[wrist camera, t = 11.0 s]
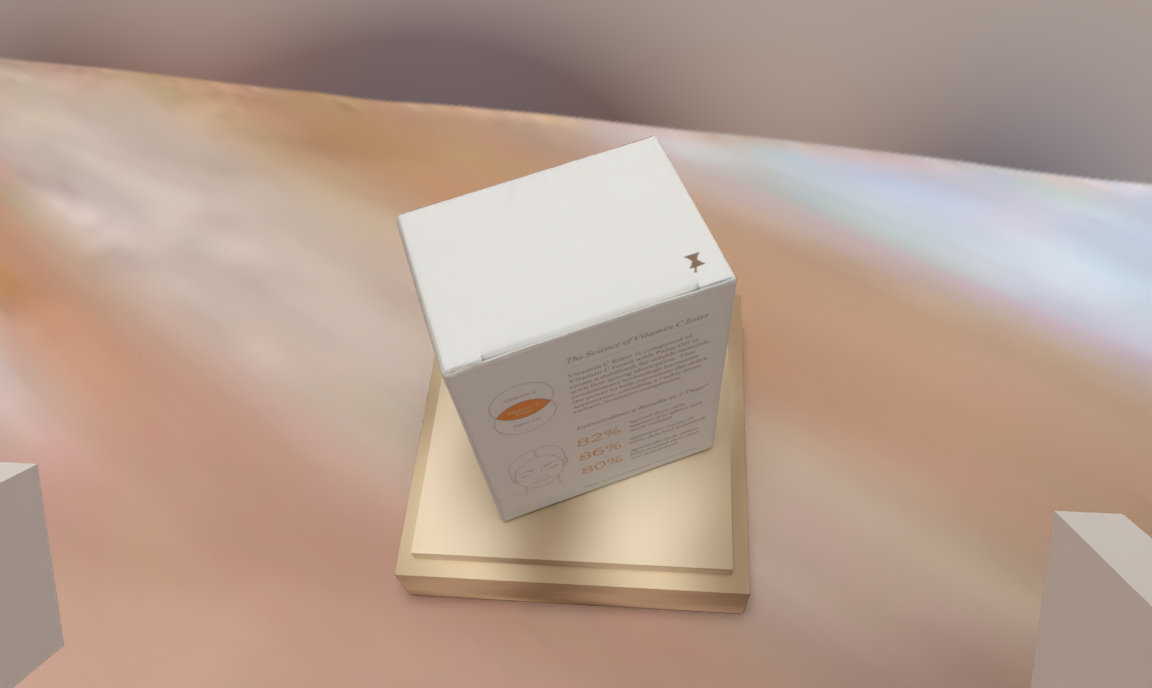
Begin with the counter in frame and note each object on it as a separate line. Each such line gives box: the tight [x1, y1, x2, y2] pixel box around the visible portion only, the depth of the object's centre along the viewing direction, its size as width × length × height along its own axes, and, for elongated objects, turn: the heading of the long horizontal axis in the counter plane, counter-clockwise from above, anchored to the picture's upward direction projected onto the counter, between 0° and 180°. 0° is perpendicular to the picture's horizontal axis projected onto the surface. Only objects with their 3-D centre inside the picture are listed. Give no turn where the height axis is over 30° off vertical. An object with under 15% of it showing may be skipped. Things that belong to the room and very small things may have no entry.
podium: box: [395, 296, 750, 614], centre depth 33 cm, size 12×12×3 cm
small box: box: [397, 136, 737, 521], centre depth 27 cm, size 8×6×10 cm
